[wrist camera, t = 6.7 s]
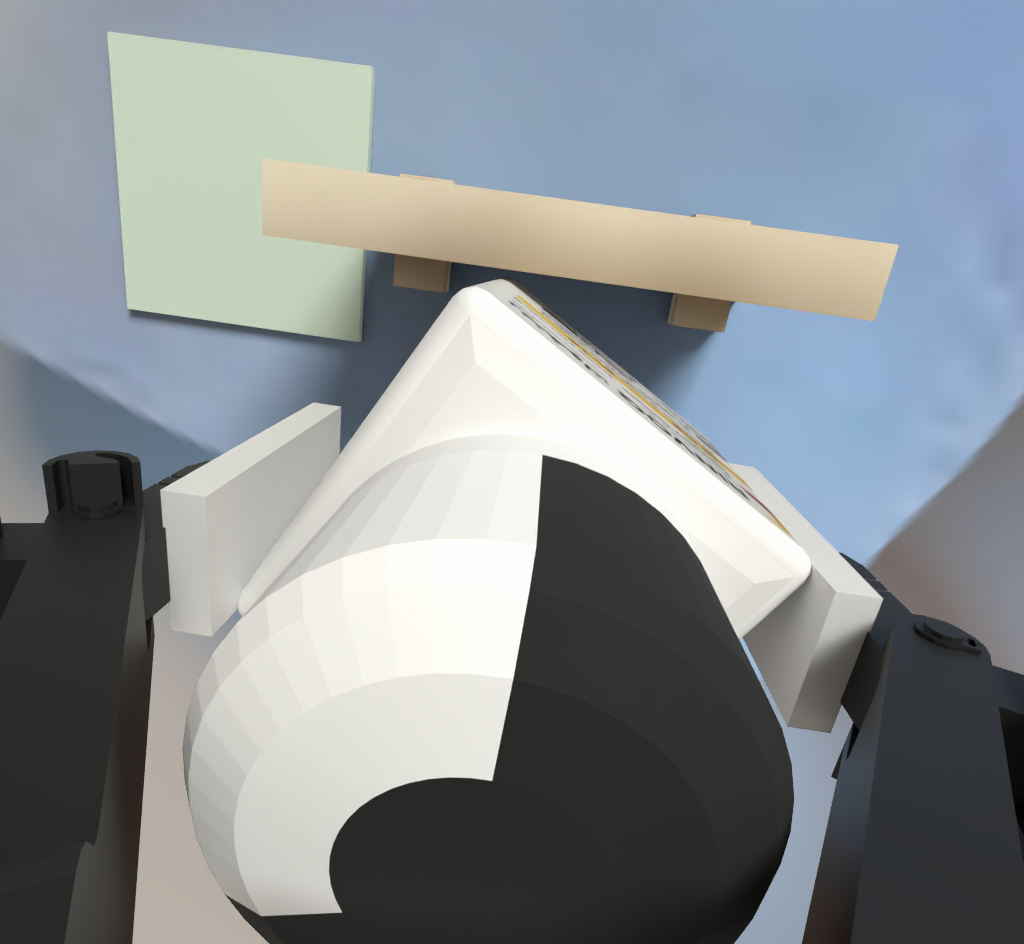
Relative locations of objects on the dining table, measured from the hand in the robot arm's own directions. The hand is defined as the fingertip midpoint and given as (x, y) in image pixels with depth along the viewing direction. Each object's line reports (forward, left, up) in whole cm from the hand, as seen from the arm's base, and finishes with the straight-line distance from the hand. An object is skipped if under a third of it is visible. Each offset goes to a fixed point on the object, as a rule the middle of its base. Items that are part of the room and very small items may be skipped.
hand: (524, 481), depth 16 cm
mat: (-7, -13, -10) cm, 18 cm away
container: (0, 0, -2) cm, 2 cm away
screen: (-6, 0, -10) cm, 12 cm away
